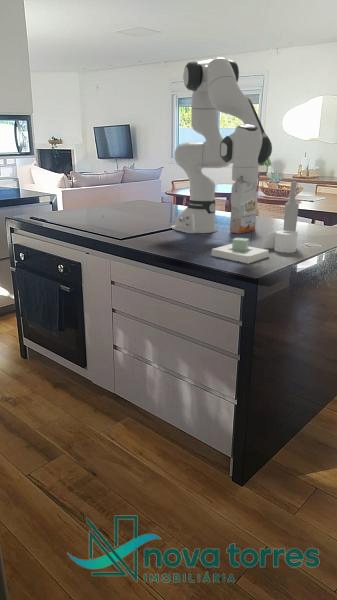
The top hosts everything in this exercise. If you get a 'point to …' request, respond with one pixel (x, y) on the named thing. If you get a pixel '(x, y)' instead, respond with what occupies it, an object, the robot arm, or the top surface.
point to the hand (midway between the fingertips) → (242, 215)
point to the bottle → (291, 210)
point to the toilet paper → (281, 241)
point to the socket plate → (240, 254)
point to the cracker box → (244, 217)
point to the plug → (240, 244)
